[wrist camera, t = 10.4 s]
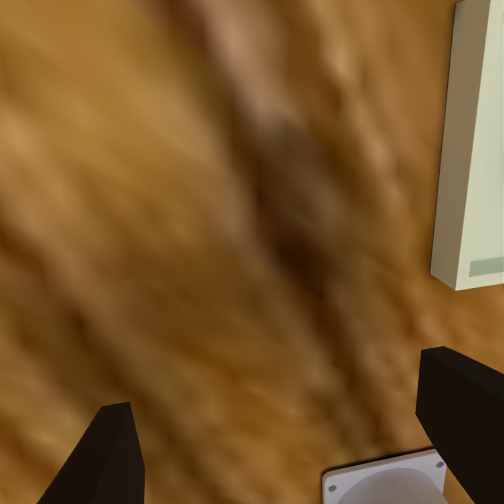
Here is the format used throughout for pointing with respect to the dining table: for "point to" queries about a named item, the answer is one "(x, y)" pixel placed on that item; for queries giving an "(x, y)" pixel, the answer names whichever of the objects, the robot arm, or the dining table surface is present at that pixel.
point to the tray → (472, 153)
